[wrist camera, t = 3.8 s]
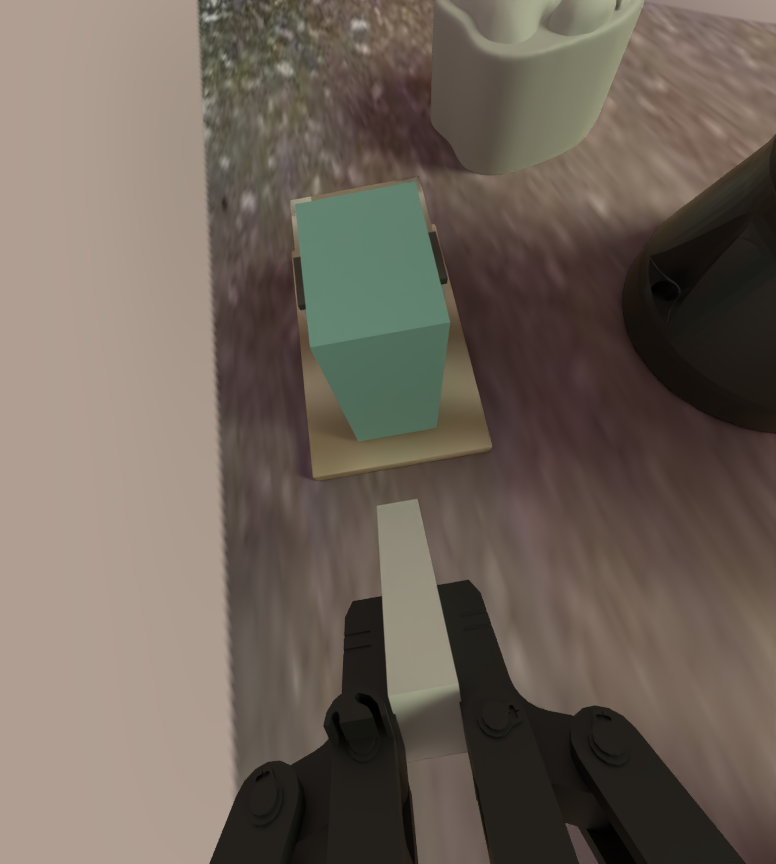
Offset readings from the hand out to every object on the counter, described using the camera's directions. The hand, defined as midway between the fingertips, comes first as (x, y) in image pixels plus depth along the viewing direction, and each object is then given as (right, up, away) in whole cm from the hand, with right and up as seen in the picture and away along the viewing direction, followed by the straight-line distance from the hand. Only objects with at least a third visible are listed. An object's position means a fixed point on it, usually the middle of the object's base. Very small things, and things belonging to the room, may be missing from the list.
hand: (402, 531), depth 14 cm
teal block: (0, +6, +8) cm, 10 cm away
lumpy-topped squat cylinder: (+10, +29, +16) cm, 34 cm away
